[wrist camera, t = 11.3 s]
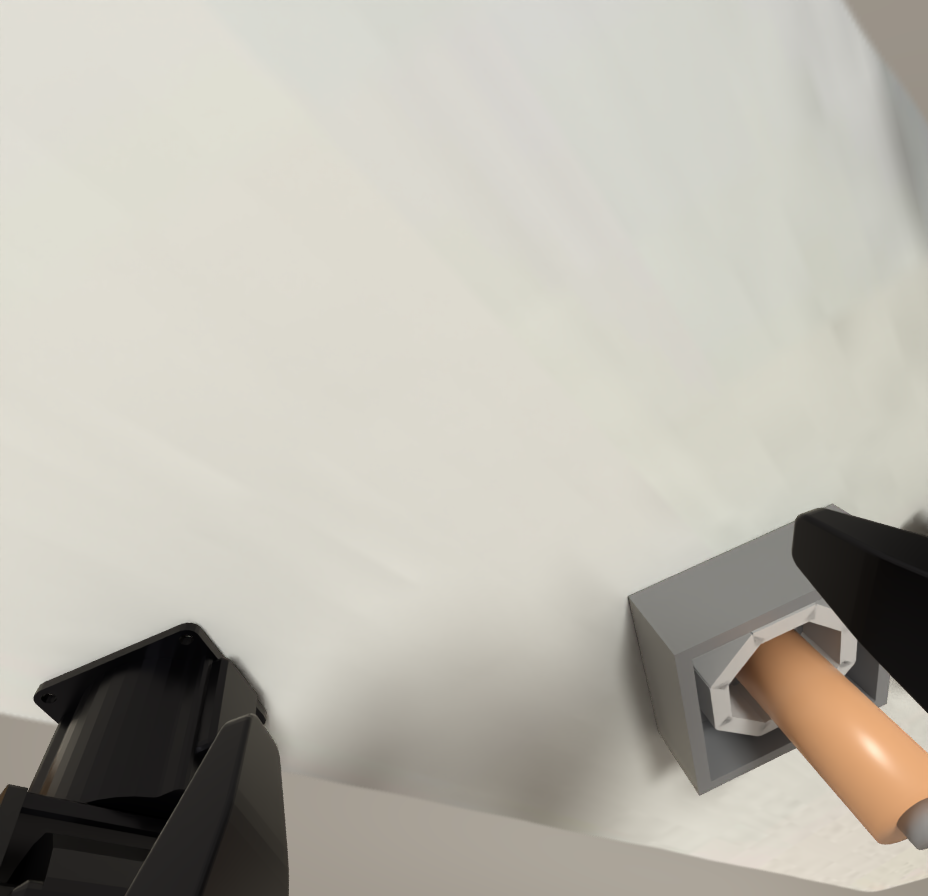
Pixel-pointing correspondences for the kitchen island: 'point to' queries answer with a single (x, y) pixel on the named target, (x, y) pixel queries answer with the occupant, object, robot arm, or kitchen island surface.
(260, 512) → the kitchen island surface
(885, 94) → the kitchen island surface
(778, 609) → the housing
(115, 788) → the robot arm
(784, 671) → the orange cylinder
